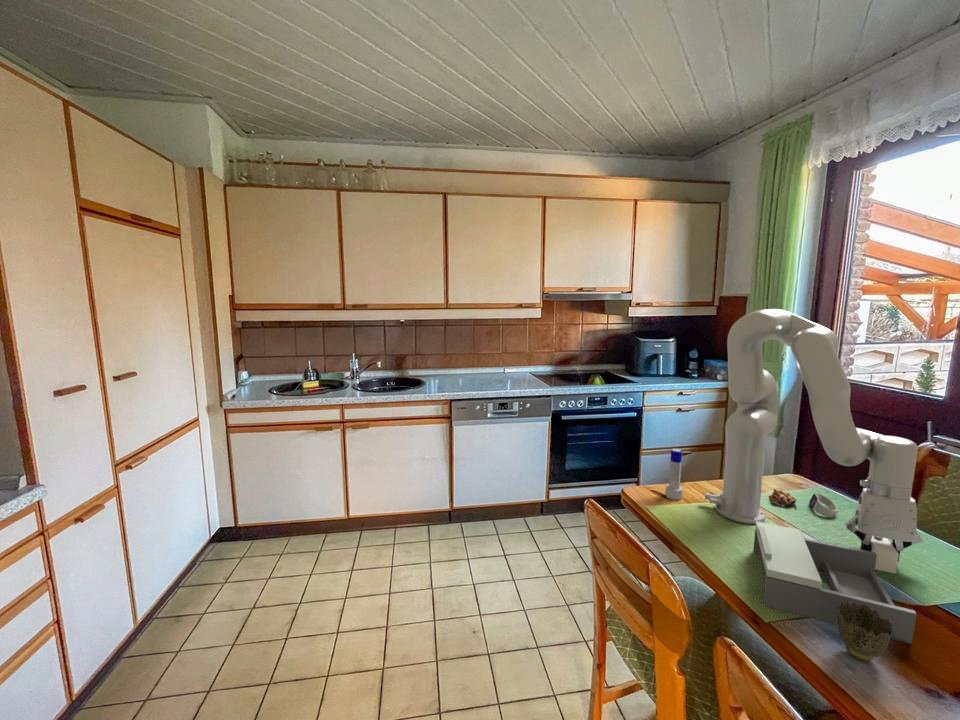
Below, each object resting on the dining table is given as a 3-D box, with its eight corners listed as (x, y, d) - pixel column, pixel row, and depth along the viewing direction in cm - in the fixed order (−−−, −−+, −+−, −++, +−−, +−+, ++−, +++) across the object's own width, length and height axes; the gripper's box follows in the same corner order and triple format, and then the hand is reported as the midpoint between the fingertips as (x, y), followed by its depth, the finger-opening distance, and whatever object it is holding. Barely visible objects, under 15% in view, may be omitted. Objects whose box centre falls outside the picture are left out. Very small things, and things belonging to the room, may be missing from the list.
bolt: (683, 501, 135) (666, 499, 136) (680, 494, 139) (664, 492, 141) (686, 453, 132) (669, 452, 134) (683, 448, 137) (666, 446, 138)
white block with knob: (873, 568, 101) (876, 547, 100) (862, 550, 108) (864, 530, 107) (895, 573, 99) (899, 551, 98) (882, 554, 106) (885, 534, 106)
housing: (763, 604, 90) (766, 577, 89) (753, 551, 108) (755, 528, 107) (911, 644, 79) (916, 613, 78) (871, 577, 98) (875, 552, 97)
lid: (766, 576, 89) (768, 564, 88) (755, 527, 107) (756, 517, 107) (821, 589, 85) (822, 577, 84) (799, 536, 103) (800, 526, 103)
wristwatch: (805, 502, 134) (807, 487, 133) (830, 506, 131) (832, 490, 130) (814, 516, 125) (816, 500, 124) (841, 520, 123) (843, 504, 122)
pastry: (789, 494, 139) (791, 484, 139) (799, 511, 128) (800, 500, 128) (764, 490, 142) (765, 480, 142) (771, 507, 131) (772, 496, 131)
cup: (821, 640, 80) (826, 602, 79) (857, 637, 81) (863, 599, 80) (859, 675, 73) (865, 633, 72) (899, 672, 74) (905, 630, 72)
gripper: (848, 488, 101) (839, 559, 104) (945, 503, 94) (933, 579, 97) (839, 476, 108) (830, 543, 111) (929, 489, 101) (918, 561, 103)
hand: (878, 559), depth 104 cm, fingers closed on white block with knob, 4 cm apart
